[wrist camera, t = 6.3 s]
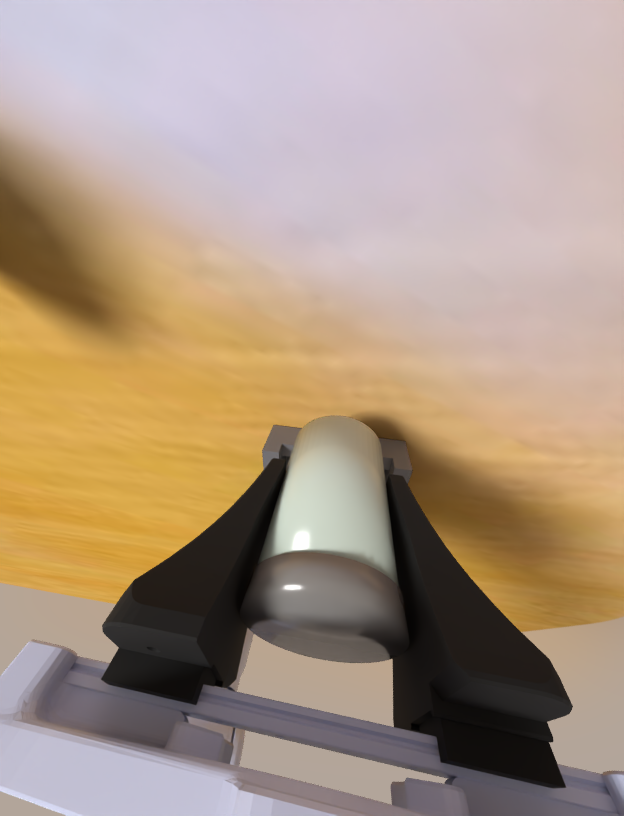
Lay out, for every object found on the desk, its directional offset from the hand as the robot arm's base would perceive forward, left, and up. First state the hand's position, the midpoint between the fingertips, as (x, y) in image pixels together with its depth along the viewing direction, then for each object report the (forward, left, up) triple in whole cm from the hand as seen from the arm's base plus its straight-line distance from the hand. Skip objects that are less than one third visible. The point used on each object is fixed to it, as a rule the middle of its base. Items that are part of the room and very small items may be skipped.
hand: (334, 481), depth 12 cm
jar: (0, 0, -2) cm, 2 cm away
